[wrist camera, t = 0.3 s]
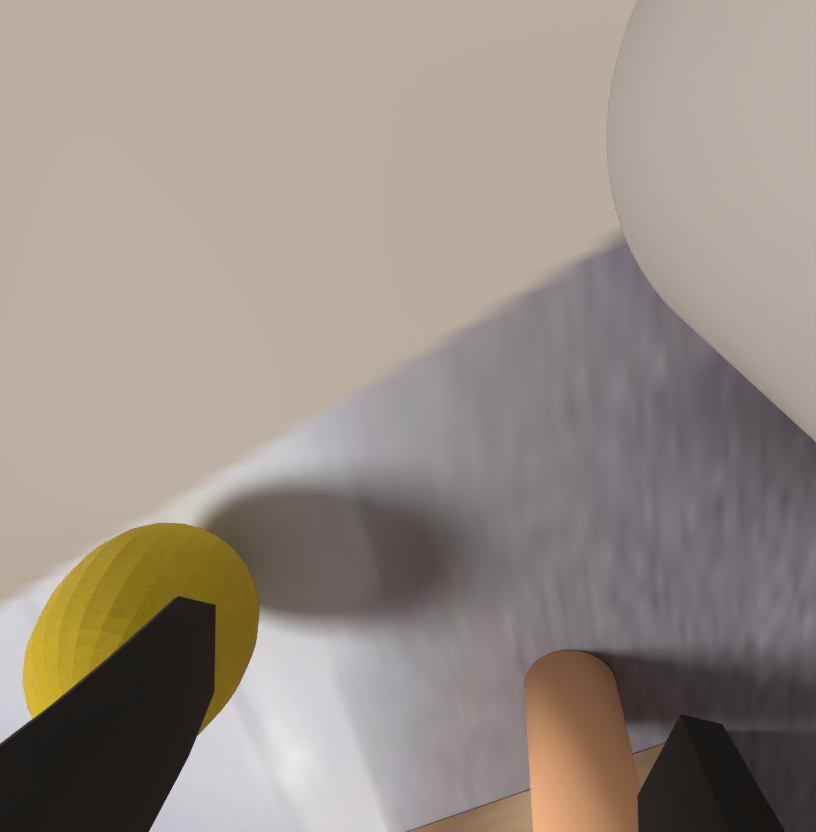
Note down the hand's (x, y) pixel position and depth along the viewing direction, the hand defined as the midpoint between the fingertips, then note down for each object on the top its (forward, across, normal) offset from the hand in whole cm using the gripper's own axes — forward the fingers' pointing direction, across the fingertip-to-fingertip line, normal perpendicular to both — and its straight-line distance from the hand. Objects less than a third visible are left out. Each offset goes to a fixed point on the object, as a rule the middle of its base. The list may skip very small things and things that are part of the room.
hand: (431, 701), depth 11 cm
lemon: (+10, +8, +7) cm, 14 cm away
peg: (+9, -5, +9) cm, 14 cm away
